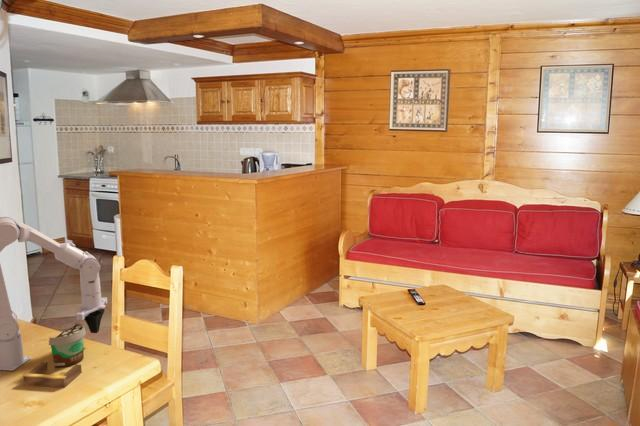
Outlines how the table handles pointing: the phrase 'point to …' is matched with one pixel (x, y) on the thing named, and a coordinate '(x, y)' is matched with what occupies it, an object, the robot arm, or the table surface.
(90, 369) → the table surface
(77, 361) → the food container
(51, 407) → the table surface
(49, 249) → the robot arm
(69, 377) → the dock bay
